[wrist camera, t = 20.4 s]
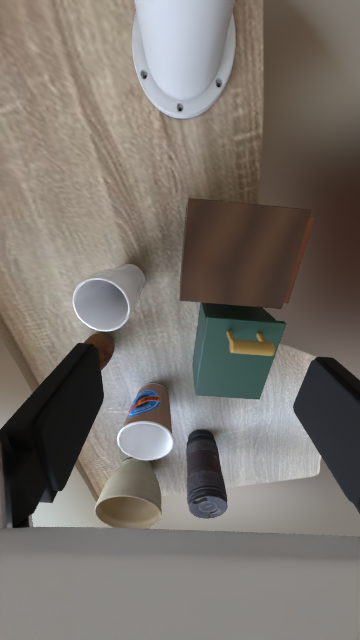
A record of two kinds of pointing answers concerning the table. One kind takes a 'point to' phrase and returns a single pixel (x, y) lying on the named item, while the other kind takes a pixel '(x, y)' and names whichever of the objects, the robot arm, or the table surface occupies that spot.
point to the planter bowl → (131, 497)
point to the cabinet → (239, 252)
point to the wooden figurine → (102, 347)
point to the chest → (222, 311)
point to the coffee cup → (148, 425)
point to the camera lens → (204, 476)
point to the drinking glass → (109, 297)
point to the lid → (237, 356)
